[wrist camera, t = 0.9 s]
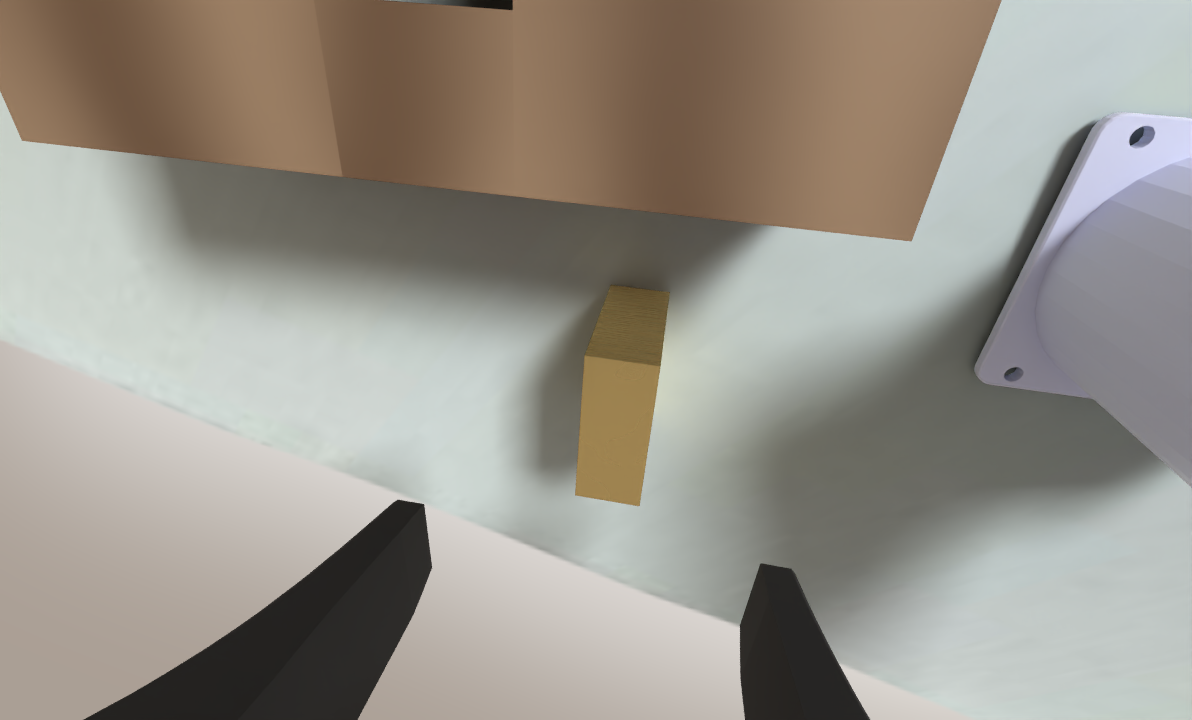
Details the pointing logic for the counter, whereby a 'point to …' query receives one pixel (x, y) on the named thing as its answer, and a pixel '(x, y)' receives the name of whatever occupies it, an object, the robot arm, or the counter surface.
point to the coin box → (525, 96)
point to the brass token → (620, 394)
